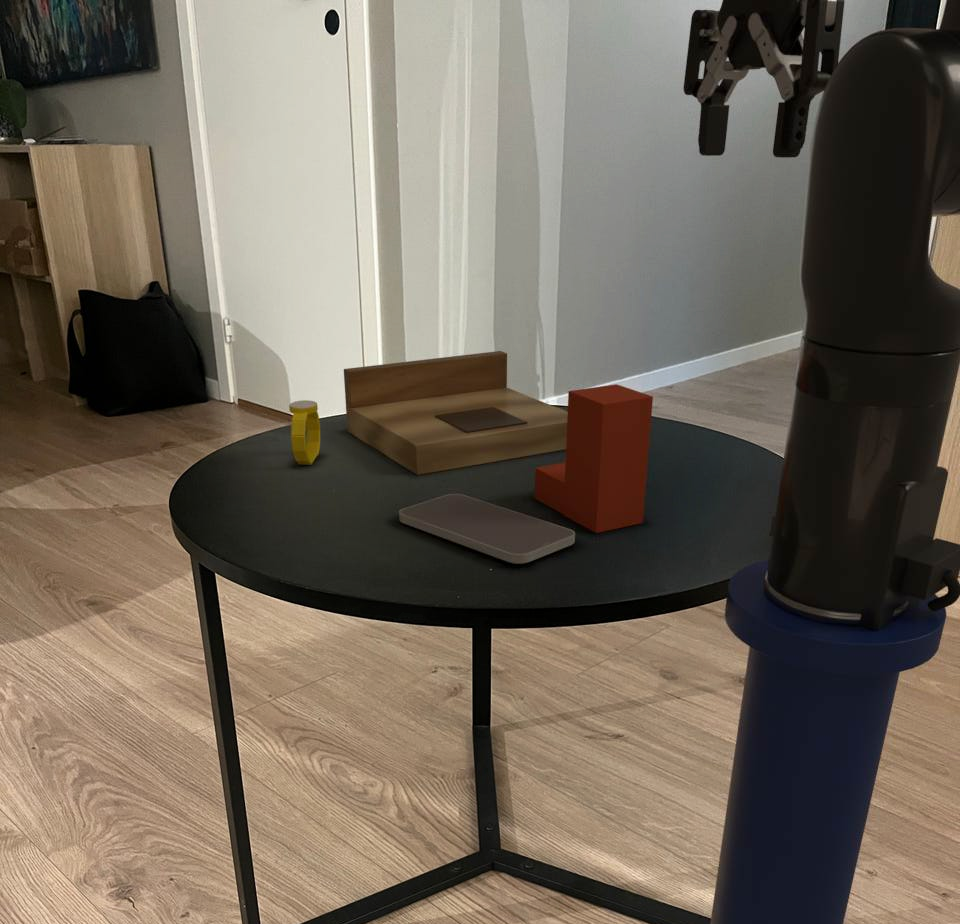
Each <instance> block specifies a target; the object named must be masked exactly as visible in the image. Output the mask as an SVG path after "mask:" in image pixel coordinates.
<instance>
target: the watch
mask: <svg viewBox="0 0 960 924" xmlns="http://www.w3.org/2000/svg"><path fill="white" fill-rule="evenodd" d="M288 407H289V412H290V413H291V414H292V418H291V430H290V440H291V449H292V453H293V458H294V460H295V461H296V462H297V464H298V465H300V466H301V465H304V466H305V465H306V466H311V465H312V464H313V462H315V460H316V458H317V457H318V456H319V455H320V449H321V422H320V416H319V412H318V410H319V407H318V402H317V401H314V400H309V399H308V400H306V399H305V400H303V399H302V400H296V401H292V402H291V403H289V406H288Z"/></svg>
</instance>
